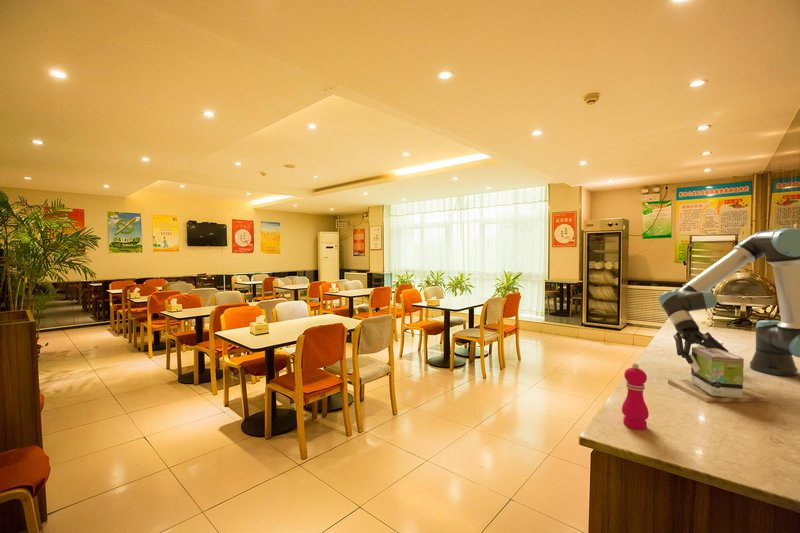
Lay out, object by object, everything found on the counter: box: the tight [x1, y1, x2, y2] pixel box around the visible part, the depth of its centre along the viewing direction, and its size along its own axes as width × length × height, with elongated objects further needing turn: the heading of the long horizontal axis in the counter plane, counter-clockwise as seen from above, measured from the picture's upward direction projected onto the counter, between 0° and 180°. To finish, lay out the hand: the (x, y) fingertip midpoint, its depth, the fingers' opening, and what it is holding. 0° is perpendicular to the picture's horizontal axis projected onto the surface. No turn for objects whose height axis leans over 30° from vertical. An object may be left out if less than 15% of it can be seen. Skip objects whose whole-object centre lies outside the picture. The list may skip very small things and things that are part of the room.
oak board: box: [667, 378, 771, 403], centre depth 141 cm, size 23×19×2 cm
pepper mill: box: [621, 362, 650, 431], centre depth 115 cm, size 7×7×20 cm
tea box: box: [690, 346, 745, 398], centre depth 138 cm, size 15×10×15 cm, turn 165°
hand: (714, 371), depth 140 cm, fingers closed on tea box, 12 cm apart
